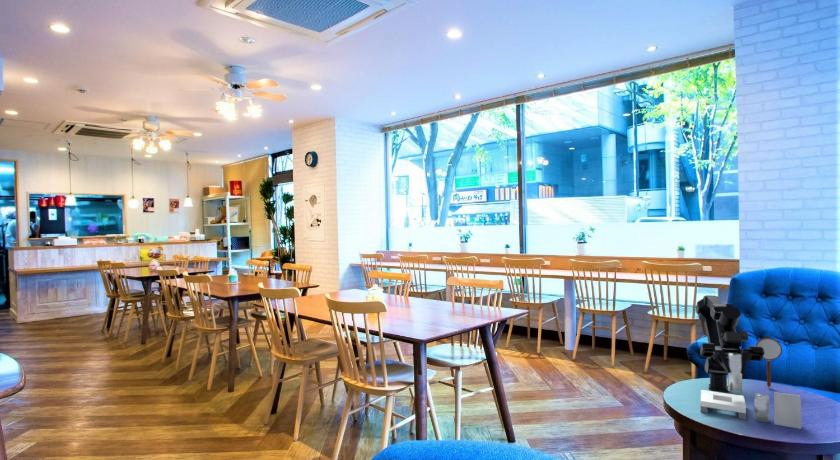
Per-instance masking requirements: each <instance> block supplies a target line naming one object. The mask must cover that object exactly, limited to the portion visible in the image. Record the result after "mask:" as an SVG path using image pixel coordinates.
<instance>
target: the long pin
mask: <svg viewBox="0 0 840 460" xmlns="http://www.w3.org/2000/svg"><path fill="white" fill-rule="evenodd" d="M728 367H729V373H728V375H727V386H728V392H731V393H735V394H741V393H743V374H742V354H740V353H734V352H729V353H728Z"/></svg>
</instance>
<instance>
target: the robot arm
mask: <svg viewBox="0 0 840 460" xmlns="http://www.w3.org/2000/svg"><path fill="white" fill-rule="evenodd" d="M695 313H696V314H697V316H698V319H699V321H701V322H702V323H703V324H704V328H705V334H706V338H707V342H702V343H701V346H700V349H699V353H700V356H701V358H706V359H705V363H704V371H705V372H706V374H708V375H709V383H708V389H709V390H710V391H717V392H724V393H726V392H727V393H729V390H728V373H729V367H728V353H729V352H734V353H740V354H742V375H744V374H745V371H746V365H747V363H750V362H751V361H755V362H761V361H762V360H763V356H764V353H765V352H764V349H763V348H762V347H761V346H756V345H749V346H748V348H747V349H745V348H742V346H743V344H742V343H743V342H747V341H748V340H749V334H748V331H747V330H740V332H739V331H737V330H736V327H737V326H738V323H739V320H740V317H741V315H742V314H741V310H739V308H737V307H735V306H733V304H732V303H723V302H722V301H721V300H720V297H719V296H717V295H713V294H712V295H711V294H710V295H708V294H706V295H703V297H702V298H701V299H700V300H698V301H697V302H696V305H695Z"/></svg>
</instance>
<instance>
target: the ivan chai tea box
mask: <svg viewBox="0 0 840 460" xmlns="http://www.w3.org/2000/svg"><path fill="white" fill-rule="evenodd" d="M801 399H802V398H801V395H800V394H799V395H798V394H792V393H783V392H780V391H779V392H777V391H774V392H773V423H774V425H777V426H783V427H789V428H792V429H794V428H795V429H799V430H802V423H803V422H802V402H801V401H802V400H801Z"/></svg>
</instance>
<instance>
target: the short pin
mask: <svg viewBox="0 0 840 460" xmlns="http://www.w3.org/2000/svg"><path fill="white" fill-rule="evenodd" d="M753 395H754V398H753V399H754V419H755V420H756V421H758V422H763V423H769V422H770V395H768V394H765V393H758V392H757V393H754V394H753Z"/></svg>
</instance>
